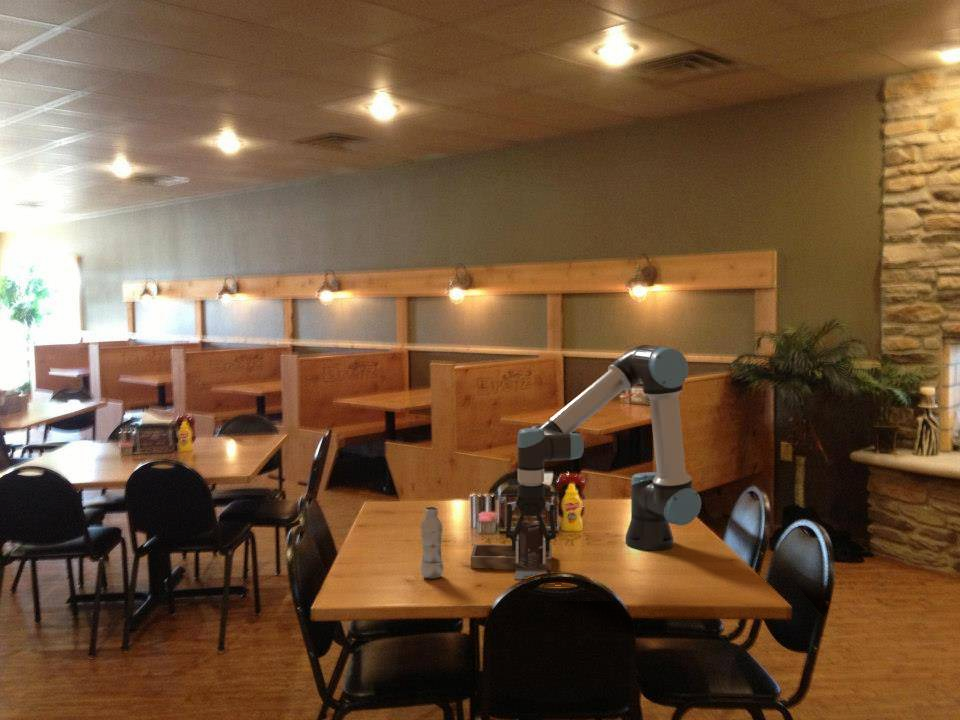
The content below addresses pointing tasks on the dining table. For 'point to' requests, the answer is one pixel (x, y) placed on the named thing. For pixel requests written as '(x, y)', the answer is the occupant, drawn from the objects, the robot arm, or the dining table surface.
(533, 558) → the box
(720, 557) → the dining table surface
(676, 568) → the dining table surface
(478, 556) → the brown shallow rectangular container
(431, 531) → the plastic bottle
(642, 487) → the robot arm
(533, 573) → the tile
